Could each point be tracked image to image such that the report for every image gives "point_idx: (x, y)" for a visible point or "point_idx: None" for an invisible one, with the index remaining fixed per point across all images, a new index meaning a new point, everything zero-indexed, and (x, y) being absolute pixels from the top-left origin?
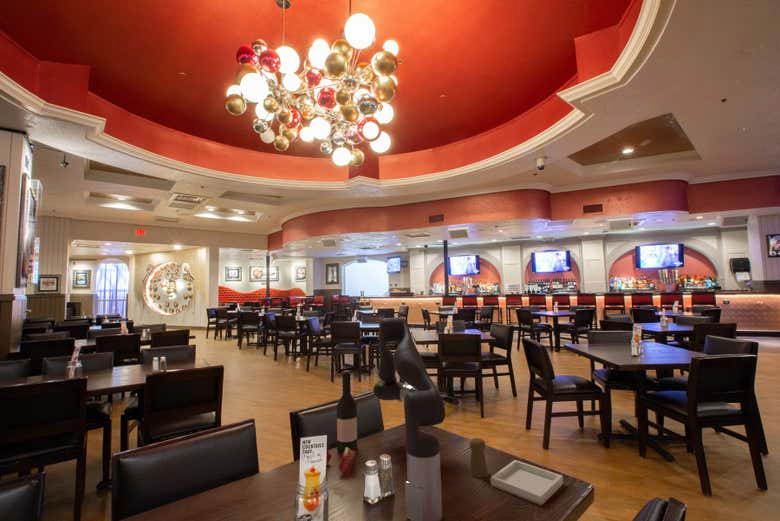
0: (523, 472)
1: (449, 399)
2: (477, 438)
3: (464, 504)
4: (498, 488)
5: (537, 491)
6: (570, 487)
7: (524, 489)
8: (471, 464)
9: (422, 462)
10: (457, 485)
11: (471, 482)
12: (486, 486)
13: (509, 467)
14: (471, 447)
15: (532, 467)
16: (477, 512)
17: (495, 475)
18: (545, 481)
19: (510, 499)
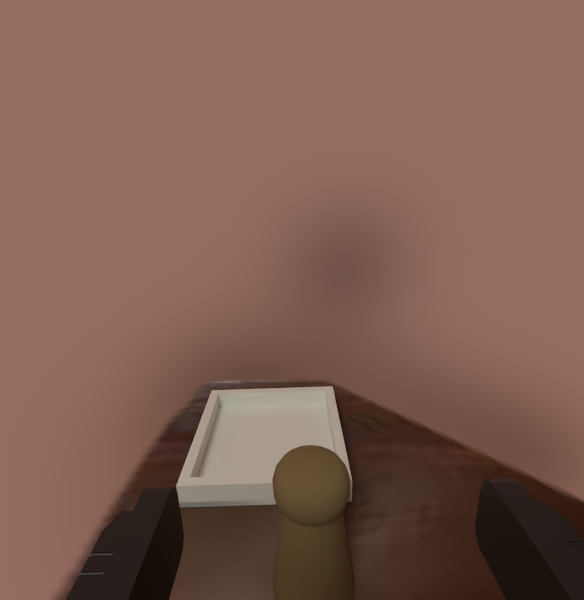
0: (215, 467)
1: (155, 577)
2: (300, 465)
3: None
4: None
5: (292, 416)
6: None
7: (333, 409)
8: (346, 563)
9: None
10: (465, 587)
11: (395, 559)
12: (368, 508)
13: (241, 477)
14: (349, 495)
15: (203, 437)
16: (487, 461)
17: None
18: (234, 421)
19: (365, 442)
